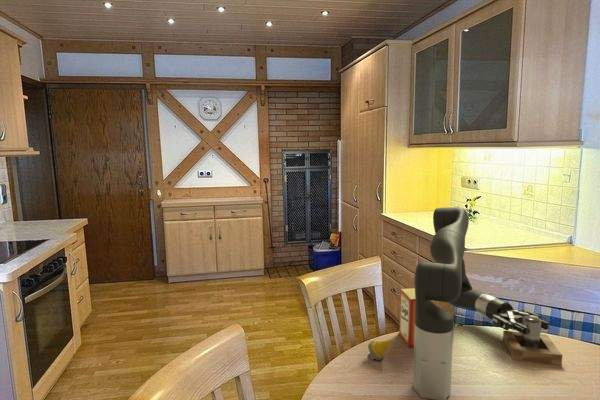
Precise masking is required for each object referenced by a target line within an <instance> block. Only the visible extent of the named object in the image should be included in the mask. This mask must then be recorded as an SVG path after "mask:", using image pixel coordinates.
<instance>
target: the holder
mask: <svg viewBox="0 0 600 400" xmlns="http://www.w3.org/2000/svg"><path fill="white" fill-rule="evenodd" d="M502 332H503V333H502V341H503V342H504V344H505V347H506V349H507V350H508V352H509V355H510V356H511V359H512V360H516V361H517V360H518V361H522V362H523V361H525V362H530V363H532V362H533V363H538V364H539V363H541V364H549V365H557V366H562V365H563V364H562V362H563V354H562V353H561V352H560V350H559V349H558V347H557V346H556V345H555V343H554V341H552V340H551V338H550V337H549V335H548V334H540V348H539V349H538V348H529V347H521V339H522V333H520V332H518V331H514V330H511V331H510V330H503V331H502Z"/></svg>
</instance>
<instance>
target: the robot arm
mask: <svg viewBox="0 0 600 400" xmlns="http://www.w3.org/2000/svg"><path fill="white" fill-rule="evenodd" d="M432 216H433V217H432V219H433V221H432V225H433V230H434V235H433V237H432V239H431V243H430V247H429V251H430V252H429V253H430V256H431V257H432V260H433V261H434V262H430V261H420V262H418V263H417V265H416V267H415V273H414V288H415V333H414V347H413V364H412V365H413V366H412V367H413V368H412V369H413V371H412V372H413V375H412V376H413V378H412V388H413V390H414V391H415V392H416V393H417V395H418V396H419V398H423V399H430V400H447V398H449V396H450V395H451V391H452V369H453V368H452V366H453V343H454V342H453V341H454V323H455V322H454V317H453V315H452V314H451V313H450V312H449V311H447V310H445V309H443V308H441V307H440V306H438V305H436V304H434V302H432V301H435V302H441V303H442V302H444V303H448V304H450V305H452V306H454V307H458V308H463V309H470V310H472V311H474V312H476V313H477V314H480V315H481V316H482V317H484V318H486V319H488V320H490V321H492V324H494V325H496V326H498V327H500V328H501V329H503V330H504V331H510V330H511V331H515V332H520V333H522V334H524V335H526V334H528V328H527V327H525V326H523V325H522V323H523V317H526V316H531V317H535V318H538V319H539V320H541V329H543V330H546V331H548V330H549V329H550V323H549V322H547V321H545V320H544V319H541V315H540V314H538V313H536V312H534V311H532V310H529V309H527V308H522V309H521V311H520V310H516V309H514V307H513V306H512V304H511V303H509V302H508V301H505V300H503V299H500V298H498V297H496V296H493V295H491V294H487V293H485V292H481V290H477V289H473V286H472V285H471V283H470V281H469V278H468V276H467V272H466V264H465V259H464V256H465V255H464V254H465V247H466V235H467V232H468V230H469V223H470V222H469V214H468V212H467V210H466V209H465V208H464V207H461V206H451V207H447V206H446V207H437V208H435V209H434V211H433V215H432ZM430 300H431V301H430Z"/></svg>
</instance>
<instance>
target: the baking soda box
mask: <svg viewBox="0 0 600 400" xmlns="http://www.w3.org/2000/svg"><path fill="white" fill-rule="evenodd" d="M430 301H431V302H432V300H430ZM398 324H399V325H398V326H399V328H398V329H399V330H398V333H399V336H400V337H401V338H402V339H403V341H404V342H405V343H406V345H407V346H408V348H409V349H410V348H414V333H415V287H410V288H408V287H406V288H400V291H399V322H398Z"/></svg>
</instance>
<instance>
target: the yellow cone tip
mask: <svg viewBox="0 0 600 400" xmlns="http://www.w3.org/2000/svg"><path fill="white" fill-rule="evenodd" d="M392 342H393V339H388V340H380V341H375V340H373V341H370V342H369V343H368V345H367V346H368V347H367V348H368V351H369V354H368V355H367V356H368V357H369V359H370V360H371V359H372V360H371V361H373V360H374V359H375V360H377V361H380V360H382V359H384V356H385V353H386V352H387V350H388V349H389V346H390V345H391V344H392Z"/></svg>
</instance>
